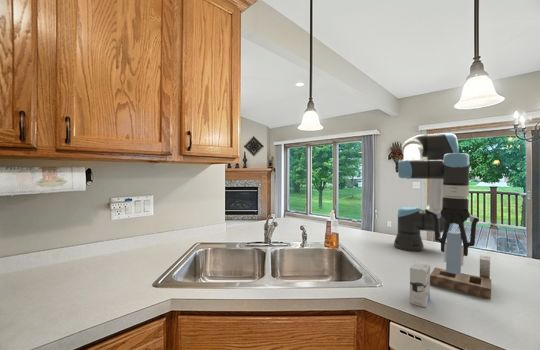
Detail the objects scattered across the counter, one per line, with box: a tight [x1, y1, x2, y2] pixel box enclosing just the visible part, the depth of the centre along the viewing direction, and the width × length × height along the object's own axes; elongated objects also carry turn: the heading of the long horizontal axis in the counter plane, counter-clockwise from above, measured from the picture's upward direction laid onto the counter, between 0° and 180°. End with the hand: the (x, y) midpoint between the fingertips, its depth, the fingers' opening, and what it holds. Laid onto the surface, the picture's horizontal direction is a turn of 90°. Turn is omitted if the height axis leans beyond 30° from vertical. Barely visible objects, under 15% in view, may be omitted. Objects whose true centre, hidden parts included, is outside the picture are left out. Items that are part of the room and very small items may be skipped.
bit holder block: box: [430, 267, 492, 300], centre depth 100 cm, size 18×11×4 cm, turn 49°
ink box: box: [409, 261, 431, 308], centre depth 88 cm, size 8×5×12 cm, turn 141°
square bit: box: [445, 230, 463, 275], centre depth 93 cm, size 4×4×14 cm
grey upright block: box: [479, 254, 491, 279], centre depth 103 cm, size 3×6×10 cm, turn 139°
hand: (453, 262), depth 93 cm, fingers closed on square bit, 4 cm apart
